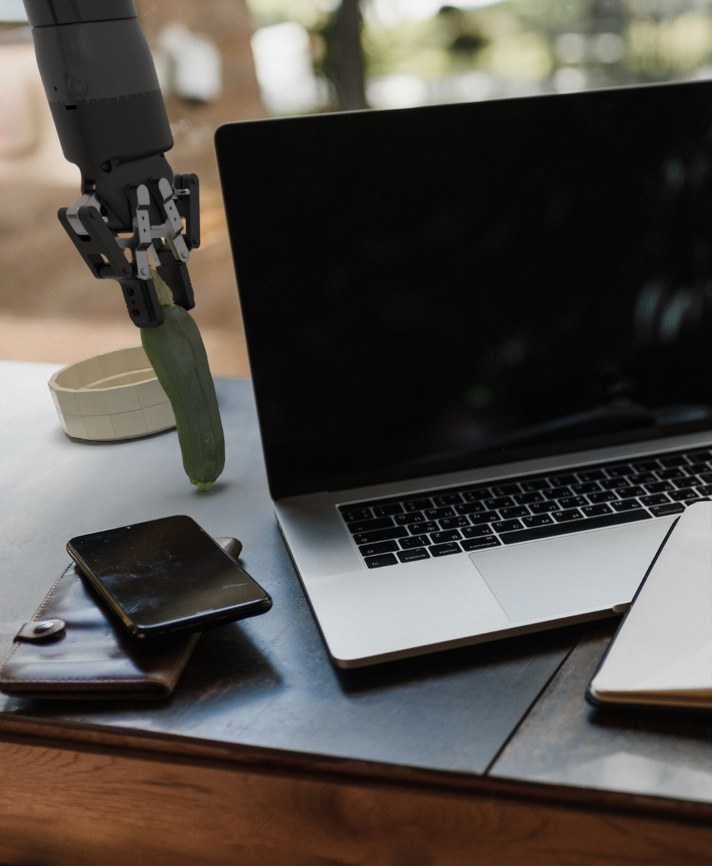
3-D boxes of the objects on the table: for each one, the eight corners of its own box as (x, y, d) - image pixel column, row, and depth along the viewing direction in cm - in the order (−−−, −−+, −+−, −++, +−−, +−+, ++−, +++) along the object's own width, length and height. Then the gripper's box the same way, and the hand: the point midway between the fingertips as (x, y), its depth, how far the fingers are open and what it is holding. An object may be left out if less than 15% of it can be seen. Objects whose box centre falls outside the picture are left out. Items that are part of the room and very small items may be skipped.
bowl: (53, 456, 101) (35, 401, 99) (78, 406, 113) (63, 357, 111) (212, 427, 104) (198, 373, 102) (220, 381, 117) (207, 333, 115)
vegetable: (244, 476, 93) (186, 247, 85) (235, 497, 89) (173, 260, 81) (191, 483, 92) (127, 254, 84) (179, 505, 88) (111, 267, 80)
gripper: (122, 82, 85) (178, 293, 92) (-14, 105, 72) (62, 348, 79) (206, 76, 83) (257, 291, 90) (81, 98, 71) (151, 347, 77)
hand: (165, 317), depth 84 cm, fingers closed on vegetable, 3 cm apart
